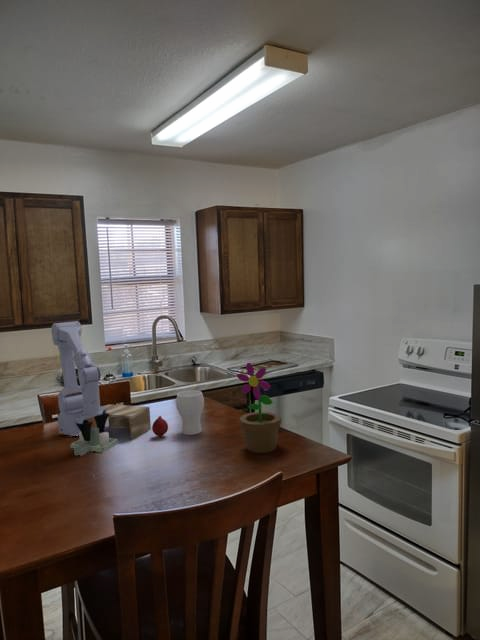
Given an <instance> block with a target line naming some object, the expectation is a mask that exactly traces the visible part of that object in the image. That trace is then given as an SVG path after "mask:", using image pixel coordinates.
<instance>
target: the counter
mask: <svg viewBox="0 0 480 640" xmlns="http://www.w3.org/2000/svg"><path fill="white" fill-rule="evenodd" d="M106 406H107V412H105V413H109V416H108V418H107V420H108V427H110V428H117V429H118V428H120V429H121V428H122V429H129V430H130V440H134V441H135V440H137V438H139V437H141V436H143V435H144V434H145V433H147V432H149V431H150V430H152V427H151V426H152V424H151V423H152V422H151V410H150V406H140V405H126V404H125V405H123V404H107V405H106Z"/></svg>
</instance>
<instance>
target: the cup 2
mask: <svg viewBox="0 0 480 640" xmlns="http://www.w3.org/2000/svg"><path fill="white" fill-rule="evenodd" d="M204 399H205V398H204V395H203V392H202V391H201V390H193V389H192V390H185V391H184V390H183V391H179V392H178V393H177V394H176V400H175V404H176V405H175V406H176V407H175V408H176V409H177V412H178V414H179V416H180V417H181V424H182V426H181V434H183V435H185V436H187V435H188V436H193V435H198V434H200V433H201V432H203V429H202V424H201V416H202V413H203V411H204V407H205V400H204Z"/></svg>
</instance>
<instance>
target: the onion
mask: <svg viewBox="0 0 480 640" xmlns="http://www.w3.org/2000/svg"><path fill="white" fill-rule="evenodd" d="M151 426H152V427H151V431H152V432H153V434H155V436H157V437H159V438H162V437H163V436H164V435H165V434H167V432H168V430H169V425H168V422H167V421H166V420H165V419H164V418H163V417H162V415H158V417H157V418H156V419H155V420H154V422H153V423H152V425H151Z"/></svg>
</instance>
